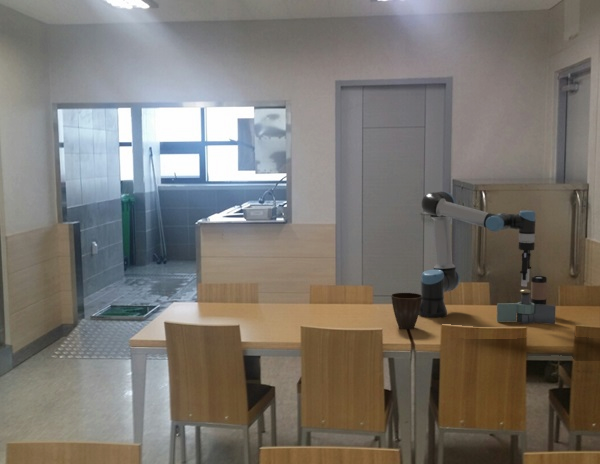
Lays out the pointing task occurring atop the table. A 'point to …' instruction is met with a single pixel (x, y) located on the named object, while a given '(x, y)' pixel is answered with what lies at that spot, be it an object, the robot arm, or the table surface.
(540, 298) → the travel mug
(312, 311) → the table surface
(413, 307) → the plant pot
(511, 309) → the hinge leaf swing
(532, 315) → the hinge leaf fixed
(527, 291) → the hinge pin
